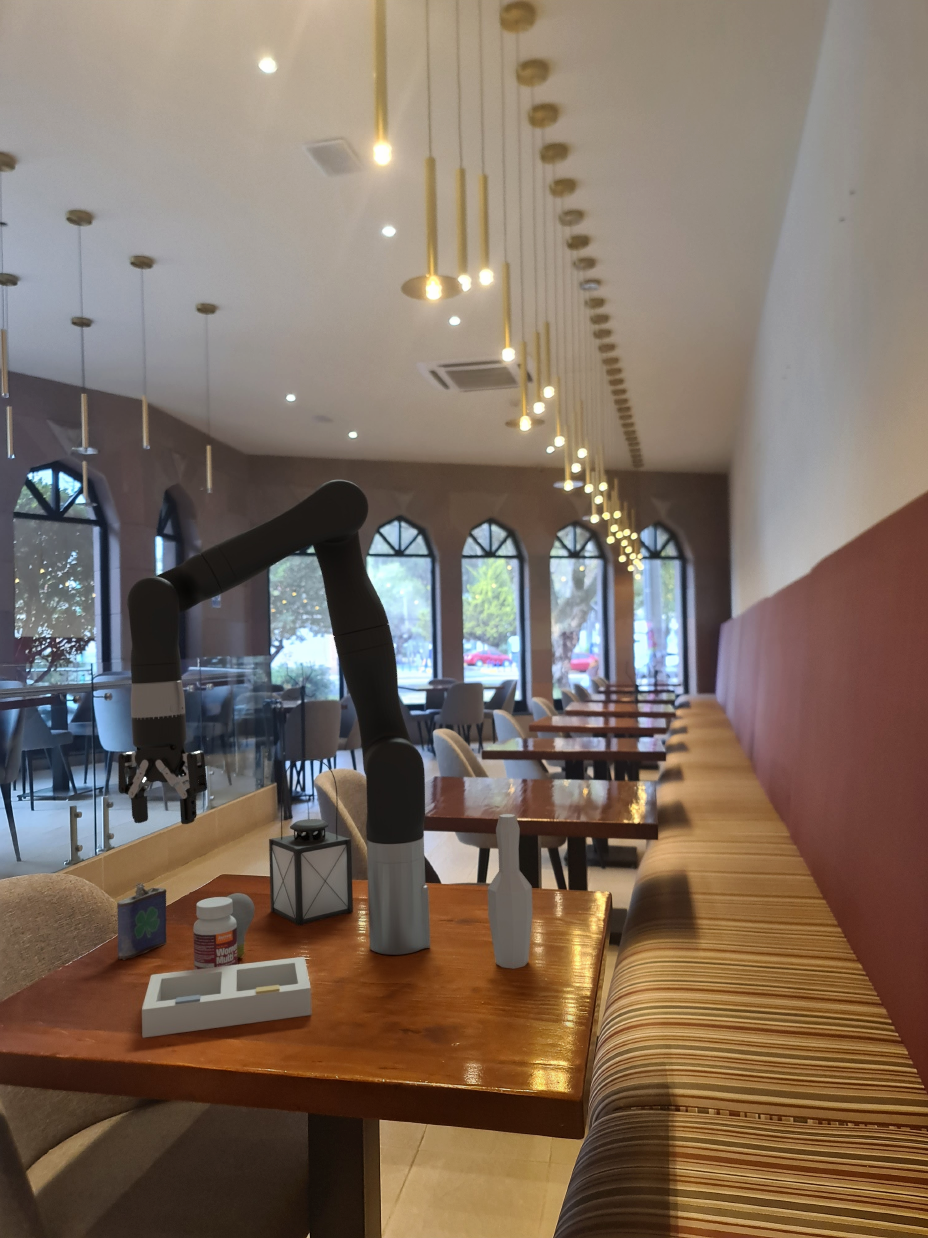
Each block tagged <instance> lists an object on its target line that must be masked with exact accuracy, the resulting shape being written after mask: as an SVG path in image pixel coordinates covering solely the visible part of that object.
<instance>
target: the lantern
mask: <svg viewBox="0 0 928 1238" xmlns="http://www.w3.org/2000/svg"><path fill="white" fill-rule="evenodd" d="M305 760H314V761H317V762H320V763H322V764H323V765H324V766H325V767H327V768H328V770H329V771H330V772H331V775H332V778H333V780H334V787H335V793H336V795H335V796H336V798H335V799H336V800H335V801H336V804H335V805H336V809H335V810H336V814H335V815H336V816H335V817H336V818H335V833H332V832H329V831H326V828H328V827H329V826H330V824H329V823H328V822H326V821H325V820H323V819H320V818H319V819H318V818H307V819H301V820H296V821H295V822H293V823H292V824H291V825H289V829H290V830H292V831H293V834H291V835H287V836H283V787H284V782H285V778H286V774H287V772H288V771H289V769H290V768H291V767H292V766H293V765H294V764H296V763H298V762H300V761H305ZM337 787H338V786H337V781H336V777H335V775H334V773H333V771H332V769H331V768H330V767H329V765H327V764H326V763H325V762H323V761H322V760H320V759H318V758H310V757H307V758H305V757H304V758H301V759H298V760H296V761H294V762H292V763H291V764H290V765H289V766H288V768H286V769H285V772H284V775H283V778H282V782H281V792H280V796H281V797H280V830H281V831H280V833H281V834H280V835H281V836H280V837H274V838H269V839H268V853H269V856H268V857H269V884H270V885H269V891H270V895H269V896H270V912H271V913H274V914H275V915H278V916H280V917H281V918H283V919H286V920H288V921H289V922H291V923H294V924H295V926H302V925H305V924H309V923H313V922H319V921H321V920H326V919H329V918H333V917H338V916H342V915H345V914H351V913H354V902H353V900H354V899H353V897H354V896H353V892H354V891H353V865H352V864H353V863H352V861H353V860H352V859H353V858H352V857H353V856H352V855H353V854H352V838H348V837H344V836H342V835H338V807H339V806H338V805H339V804H338V803H339V801H338V788H337Z"/></svg>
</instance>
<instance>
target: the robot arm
mask: <svg viewBox="0 0 928 1238" xmlns="http://www.w3.org/2000/svg"><path fill="white" fill-rule="evenodd" d="M368 515H369V501H368V497H367V495H366V494H365V493H364V490H362V488H361V487H360V486H358V485H356V484H355V483H354V482H351V481H349V480H344V479H334V480H333V479H332V480H330V481H327V482H324V483H323V484H321V485H320V486H318V487H317V488H316V489H315V491H314V492H312V493H311V494H309V495H308V496H307V497H306V498H304V499H303V500H301V501H299V503H297V504H295V505H294V506H292V507H291V508H288V510H286V511H284V512H283V513H281V514H279V515H277V516H274V517H273V518H271V519H269V520H267V521H265V522H263V523H261V524H259V525H256V526H255V527H252V528H250V529H248V530H245V531H243V532H241V533H238V534H236V535H233V536H231V537H230V538H227V539H225V540H223V541H221V542H219V543H217V544H214V545H213V546H210V547H208V548H205V549H204V550H203V551H202V550H201V551H200V552H198V553H196V554H194V555H192V556H190V557H189V558H187V559H186V560H185V561H184V562H182V563H181V564H179V565H177V566H175V567H172V568H170V569H168V570H166V571H163V572H161V573H158V574H156V575H155V576H146V577H143V578H141V579H139V580H138V581H136V582H135V583H134V584H133V585H132V586H131V588H130V590H129V592H128V596H127V600H126V601H127V602H126V604H127V610H128V616H129V617H128V619H129V628H130V639H131V651H130V652H131V653H130V675H131V677H130V679H131V692H130V710H131V711H130V712H131V713H130V716H131V731H132V732H131V733H132V735H131V736H132V745H133V746H134V747H136V751H135V750H133V751H127V752H126V751H125V752H122V753H119V754H118V759H117V760H118V761H117V762H118V763H117V765H118V771H117V772H118V776H117V777H118V780H117V782H118V792H119V793H120V794H125V795H128V797H129V798H130V801H131V803H130V804H131V817H132V819H133V822H134V824H142V823H144V822H145V823H146V822H147V821H148V820H149V810H148V809H149V808H148V807H149V806H148V795H146V793H147V791H148V790H149V788H150V785H152V784H153V783H155V782H160V783H168V784H169V786H170V787H172V788H174V789H175V790H176V792H177V793H178V795H179V797H181V798H179V809H180V811H179V812H180V824H182V825H188V824H192V823H193V822H195V821H196V820H195V819H196V818H197V814H198V813H197V798H196V797H197V796H198V795H199V794H201V793H204V792H206V791H207V790H208V779H207V770H206V761H205V760H206V759H205V753H204V751H203V750H197V751H192V752H186V749H185V745H186V744H185V743H186V742H187V738H188V737H187V723H186V721H187V719H186V718H187V717H186V701H185V691H184V688H183V679H182V678H183V677H182V676H183V675H182V662H181V660H182V659H181V653H180V646H179V636H180V635H179V634H180V615H181V614H183V613H185V612H186V611H188V610H189V609H192V608H193V607H195V606H197V605H198V604H200V603H202V602H204V601H208V600H210V599H213V598H216V597H217V596H220V595H221V594H225V593H226V592H228V591H230V590H232V589H233V588H236V587H238V586H240V585H242V584H244V583H246V582H247V581H249V580H251V579H252V578H255V577H256V576H258V575H259V574H261V573H263V572H264V571H266V570H267V569H269V568H271V567H272V566H274V565H276V564H277V563H279V562H281V561H282V560H284V559H287V558H288V557H289V556H291V555H294V554H295V553H298V552H300V551H302V550H304V549H306V548H308V547H310V546H312V548H313V550H314V553H315V556H316V560H317V562H318V565H319V569H320V572H321V576H322V582H323V586H324V587H323V588H324V593H325V599H326V604H327V606H326V607H327V611H328V616H329V621H330V626H331V631H332V635H333V641H334V644H335V645H334V646H335V650H336V653H337V659H338V662H339V665H340V668H341V671H342V675H343V679H344V681H345V684H346V687H347V691H348V692H349V695H350V699H351V700H352V703H353V706H354V709H355V713H356V716H357V717H356V718H357V723H358V728H359V735H360V736H359V737H360V745H361V753H362V766H363V772H364V775H365V781H366V783H365V784H366V823H365V826H366V827H365V832H366V857H367V858H366V861H367V862H366V866H367V867H366V868H367V869H366V870H367V897H368V899H367V900H368V901H367V903H368V904H367V905H368V937H369V939H368V940H369V949H370V950H372V951H373V952H375V953H376V954H377V953H378V954H382V955H389V956H392V955H396V956H397V955H407V954H412V953H415V952H418V951H420V950H424V949H428V948H431V932H430V931H431V930H430V926H431V925H430V899H429V898H430V895H429V886H428V885H427V884H426V867H425V864H426V863H425V862H426V861H425V839H424V838H425V828H424V827H425V820H426V780H425V779H426V778H425V777H426V775H425V774H426V773H425V764H424V760H423V757H422V755H421V753H420V751H419V750H418V748H416V746H414V744H413V742H412V740H411V737H410V734H409V731H408V728H407V725H406V723H405V722H406V721H405V719H404V716H403V712H402V710H401V709H402V707H401V704H400V703H401V702H400V700H399V699H400V698H399V682H398V680H399V679H398V665H397V658H396V650H395V645H394V639H393V635H392V631H391V626H390V622H389V619H388V616H387V612H386V609H385V608H384V604H383V603H382V600H381V598H380V596H379V594H378V592H377V590H376V589H375V587H374V585H373V582H372V581H371V579H370V577H369V574H368V572H367V569H366V566H365V564H364V563H365V562H364V559H363V553H362V548H361V542H360V541H361V540H360V536H359V530H361V529H362V527H363V526H364V524H365V523H366V520H367V518H368ZM185 766H186V767H187V768H186V767H185ZM137 767H138V770H137Z"/></svg>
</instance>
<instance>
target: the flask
mask: <svg viewBox="0 0 928 1238" xmlns="http://www.w3.org/2000/svg"><path fill="white" fill-rule="evenodd" d="M135 887H136V889H135V891H134V892H135V895H134V894H133V895H132V896H129V897H126V898H125V899H122V900H119V901H118V902H117V903H116V905H117V906H116V907H117V958H118V959H119V960H123V961H125V960H127V959H133V958H135V957H136V956H139V955H142V954H145V953H148V952H149V951H150V950H154V949H156V948H158V947H159V948H160V947H161V946H164V945H166V944H167V889H166V888H162V887H151V888H148V889H147V888H145V887H146V886H145V884H144V883H141V882H138V883H136V884H135V885H134V886H133V888H135Z"/></svg>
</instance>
